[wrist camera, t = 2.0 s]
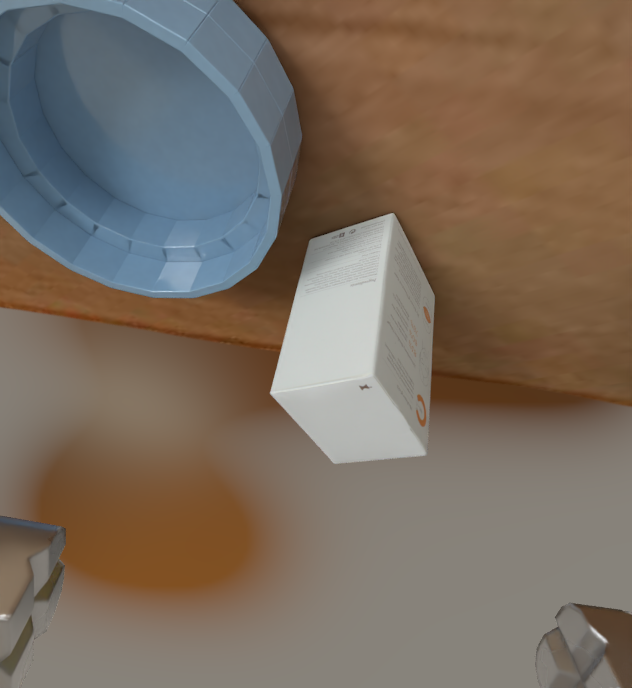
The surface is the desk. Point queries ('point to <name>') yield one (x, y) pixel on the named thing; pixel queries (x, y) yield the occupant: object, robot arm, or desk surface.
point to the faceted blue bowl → (145, 140)
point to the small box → (360, 345)
